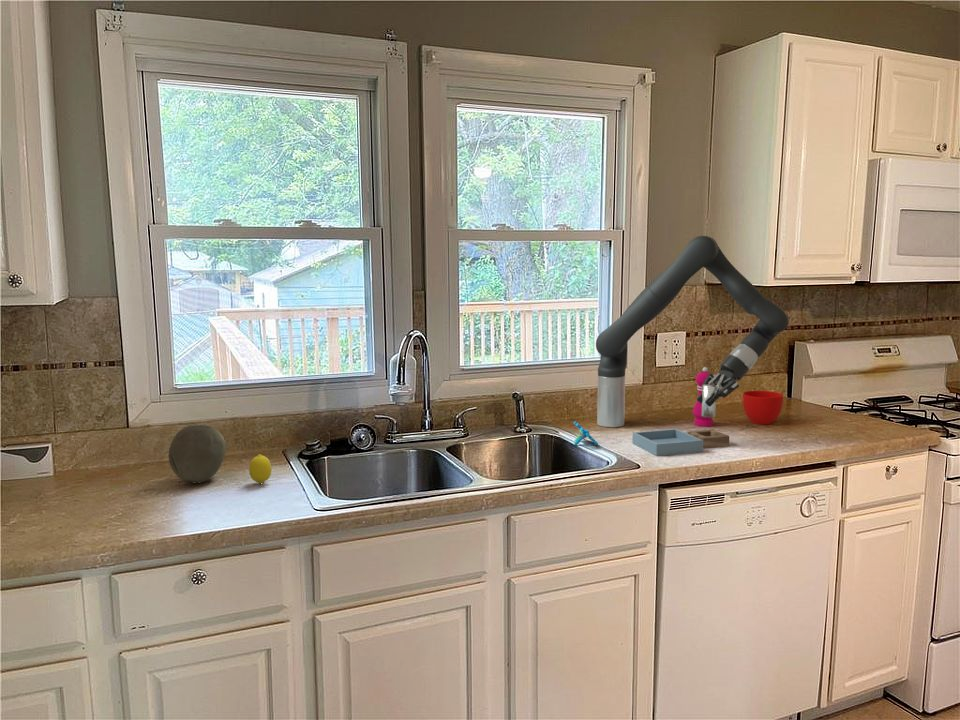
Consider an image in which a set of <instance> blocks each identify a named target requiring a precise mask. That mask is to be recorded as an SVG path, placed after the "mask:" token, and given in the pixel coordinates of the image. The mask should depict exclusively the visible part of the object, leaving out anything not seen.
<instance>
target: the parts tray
mask: <svg viewBox="0 0 960 720" xmlns="http://www.w3.org/2000/svg"><path fill="white" fill-rule="evenodd" d="M631 436H632V438H631V440H632V441H631V443H632V444H633V445H634V446H636V447H638V448H640V449H642V450H644V451H645V452H647V453H650V454H652V455H653V456H655V457H660V456H661V457H663V456H671V455H673V456H674V455H684V454H694V453H703V450H704V448H703V440H701V439H699V438H696V437H694V436H692V435H689V434H687V432H685V431H683V430H679V429H677V428H671V429H657V430H649V431H648V430H645V431H634V432H632V435H631Z"/></svg>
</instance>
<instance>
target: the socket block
mask: <svg viewBox="0 0 960 720" xmlns="http://www.w3.org/2000/svg"><path fill="white" fill-rule="evenodd" d="M686 433H687V434H689V435H692V436H694V437H696V438H699V439H701V440H703V449H707V448H709V449H710V448H718V447H719V448H720V447H728V446H729V447H730V435H727V434H726V433H725V434H724V432H723V433H722V432H720V431H718V430H716V429H704V430H690V431H689V430H688V431H686Z"/></svg>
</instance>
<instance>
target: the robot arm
mask: <svg viewBox="0 0 960 720" xmlns="http://www.w3.org/2000/svg"><path fill="white" fill-rule="evenodd" d="M703 268H705V270H707V271H708V272H709V273H711V274H712V276H714V277H715V278H716V279H717V280H718V281H719V282H720V284H721V285H722V287H724V289H725V290H726V292H727V293H728V294H729V295H730V297H732V298H733V300H734V301H735V302H736V303H737V304H738V305H739V306H740V307H741V308H742V309H743V310H744V311H745V312H746V313H747V314H749V315H753V316H756V317H757V318H758V319H759V320H758V321H757V323H756V324H755V325H754V327H753V328H752V330H751V331H750V332H749V333H748V334H747V335H746V336H745V337H744V338H743V339H742V340H741V341H740V343H739V344H738V345H737V346H736V347H735V348H734V349H733V350H732V351H731V352H730V353H729V354H728V355H727V356H726V358H725V359H723V361H722V362H721V363H720V365H719V367H720V370H719V371H717V372H716V373H715V374H712V372H710V373H709V374H708V376H707V378H706V379H705V381H704V383H703V385H716V389H715V391H714V393H712V394H711V395H710V396H709V397H708V399H707V400H706V401H705V403H706V404H707V405H708V406H711V405H712V404H713V403H714V402H715V401H716V402H717V400H718V399H720V398H724V399H725V398H726V397H728V396H729V395H730V394H732V393H733V392H734V391H735V390H736V389H738V388H739V387H740V384H739V383H738V382H739V381H741V380H742V378H744V377H745V375H746V374H747V373H748V372H749V371H751V369H752V367H753V366H754V365H755V364H756V362H757V361H758V359H759V358H761V356H762V354H764V352H765V351H766V350H767V348H768V347H769V344H770V343H771V342H772V341H773V340H774V339H775V337H777V336H778V335H779V334H780V333H782V332H784V331H785V330H786V329H787V328H788V326H789V324H790V323H789V322H790V321H789V317H788V315H787V313H786V312H785V311H784V310H783V309H782V308H780V307H779V306H778V305H776V304H775V303H774V302H772V301H771V300H769V299H768V298H766V297H765V296H764V294H762V293H761V292H760V291H759V290H758V289H757V288H756V286H755V285H753V284H752V283H751V282H750V281H749V280H748V279H747V278H746V277H745V276H744V275H743V274H742V273H741V272H740V271H739V270H738V269H737V268H736V267H735V266H734V265H733V264H732V262H731V261H729V259H728V258H727V257H726V255H725V254H724V252H723V251H722V249H721V248H720V246H719V245H718V243H717V241H716V240H715V238H712V237H710V236H708V235H698V236H696V237H693V238H692V239H691V240H690V241H689V242H688V244H686V246H685V247H684V249H683V250H682V251H681V253H680V254H679V255H678V256H677V257H676V259H675V260H674V261H673V262H672V263H671V264H670V265H669V266H668V267H667V268H666V269H665V270H663V271H662V272H661V273H660V274H659V275H657V276H656V277H655V278H654V279H652V281H651V282H650V283H649V284H648V285H647V286H646V287H644V289H643V290H642V291H641V292H640V293H639V294H638V296H636V298H635V299H634V300H633V301H632V302H631V304H629V306H628V307H627V308H626V309H625V311H624V312H623V313H622V314H621V315H620V316H619V318H618V319H616V320H615V321H614V322H613V323H611V324H610V325H609V326H608V327H607V328H605V329H604V330H602V331H601V332H600V333H599V335H597V338H596V341H595V349H596V351H597V353H598V354H599V355H600V358H599V364H598V368H597V398H596V399H597V402H596V403H597V406H596V407H597V408H596V410H597V413H596V414H597V416H596V417H597V418H596V419H597V420H596V424H597V425H598V426H600V427H605V428H606V427H607V428H618V427H623V426H625V413H626V412H625V409H626V408H625V407H626V401H625V400H626V399H625V396H626V369H627V361H628V342H629V341H630V339H631V338H632V337H633V336H634V335H635V334H636V333H637V332H638V331H640V329H642V328H643V327H644V326H646V325H647V324H649V323H650V322H652V320H654V319H655V318H657V316H659V315H660V314H661V313H662V312H663V311H664V310H665V309H666V308H667V307H668V306H669V305H670V304H671V303H672V301H674V300H675V298H676V297H677V296H678V294H679V293H680V291H681V290H682V289H683V287H685V284H686V283H687V282H688V281H689V280H690V279H691V278H692V277H693V276H694V275H696V273H698V272H699V271H701V269H703ZM703 385H702V388H703ZM702 393H703V392H702ZM702 393H701V394H700V395H699V396H697V398H696V402H697V401H698V402H699V403H702Z"/></svg>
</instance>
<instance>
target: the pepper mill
mask: <svg viewBox="0 0 960 720" xmlns="http://www.w3.org/2000/svg"><path fill="white" fill-rule="evenodd" d="M709 373H711V372H710V371H709V369H708V367H707V366H703V368H702V371H701V372H699V373H697V374H696V377H695V382H696V384H697V385H696V390H697V392H698V396H699V395H700V394H701V393H702V392H703V388H702V385H703V383H704V381H705V379H706V378H707V376H708V374H709ZM698 396H697V397H698ZM692 415H693V416H694V417H695V418H694V419H693V424H694V425H695V426H696V427H703V428H704V427H705V428H706V427H713V425H714V420H713V419H712V418H713V417H703V416H702V403H699V402H698V401H697V400H696V402H695V404H694V406H693V409H692Z"/></svg>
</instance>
